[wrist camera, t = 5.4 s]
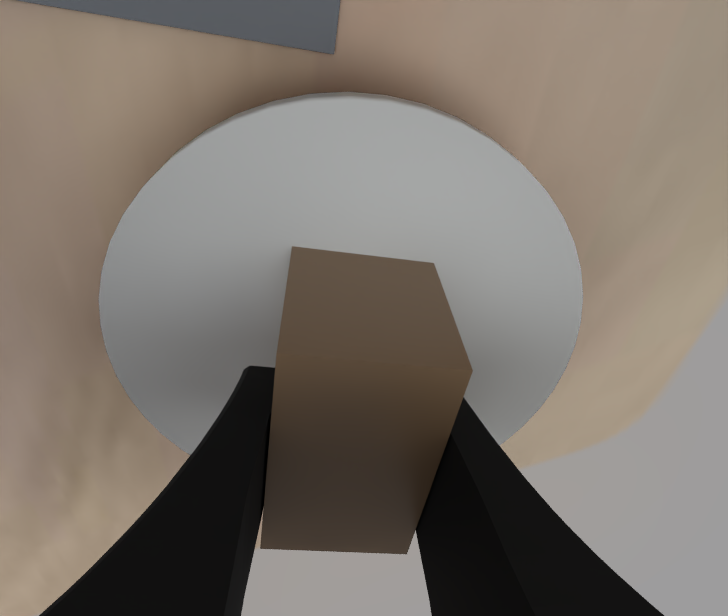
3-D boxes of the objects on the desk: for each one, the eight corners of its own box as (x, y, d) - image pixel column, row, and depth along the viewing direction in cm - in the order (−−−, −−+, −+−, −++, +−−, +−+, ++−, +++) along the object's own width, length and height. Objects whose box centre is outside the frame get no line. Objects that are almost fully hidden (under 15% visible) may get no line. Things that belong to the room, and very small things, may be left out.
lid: (134, 461, 15) (71, 619, 11) (78, 44, 9) (-95, 91, 5) (491, 483, 16) (538, 627, 13) (650, 138, 10) (824, 224, 7)
